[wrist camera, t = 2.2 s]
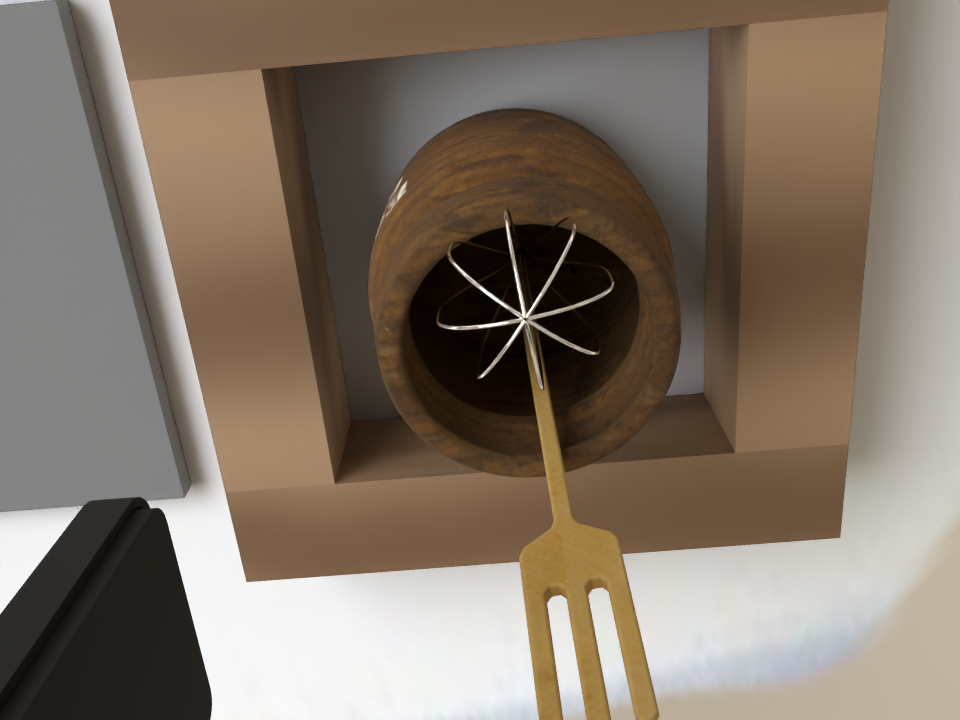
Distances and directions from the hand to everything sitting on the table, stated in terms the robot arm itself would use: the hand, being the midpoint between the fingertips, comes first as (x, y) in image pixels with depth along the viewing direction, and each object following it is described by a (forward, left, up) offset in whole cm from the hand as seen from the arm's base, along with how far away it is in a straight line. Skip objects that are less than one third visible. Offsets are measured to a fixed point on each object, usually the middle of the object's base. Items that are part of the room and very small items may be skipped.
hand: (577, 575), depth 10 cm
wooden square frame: (0, 0, -12) cm, 12 cm away
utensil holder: (0, 0, -12) cm, 12 cm away
